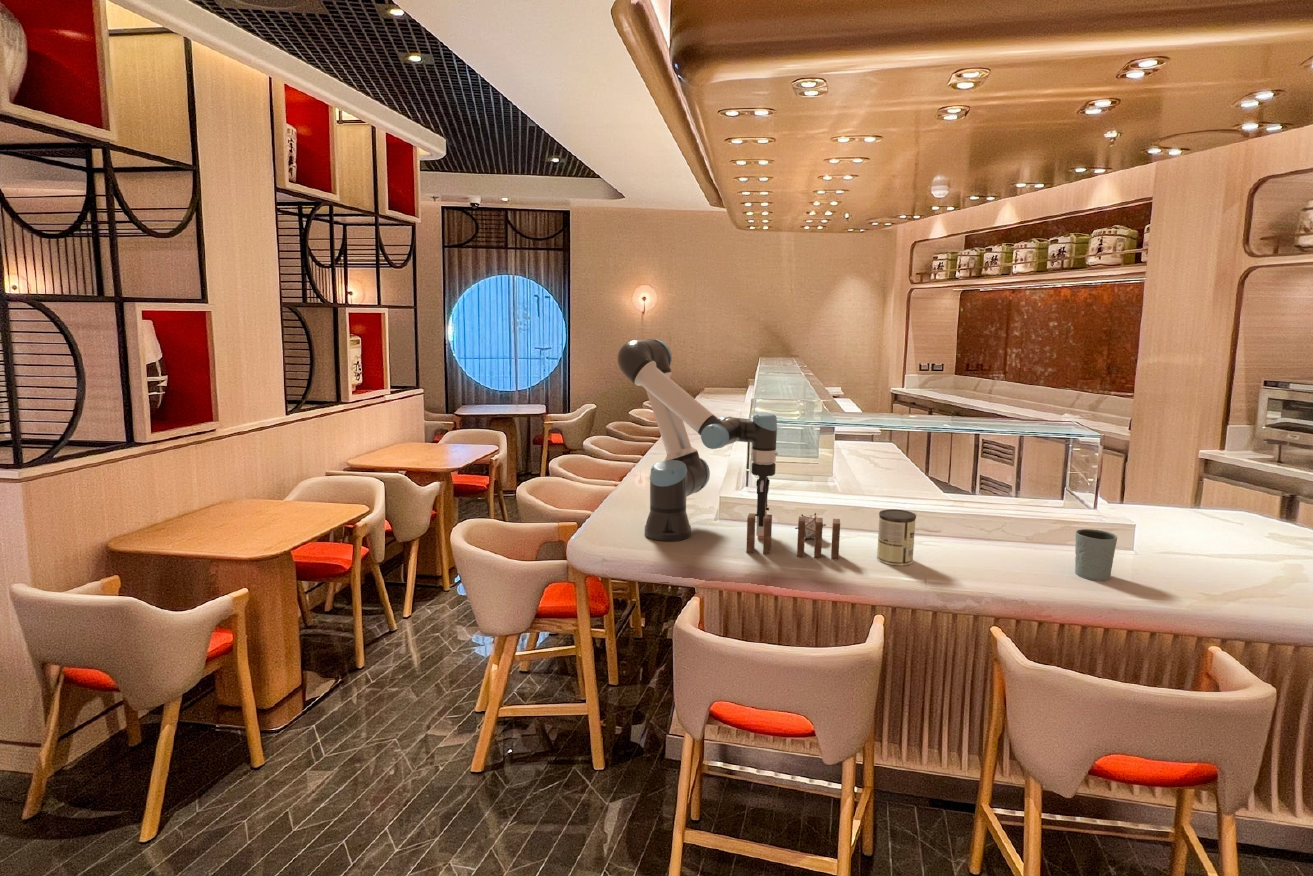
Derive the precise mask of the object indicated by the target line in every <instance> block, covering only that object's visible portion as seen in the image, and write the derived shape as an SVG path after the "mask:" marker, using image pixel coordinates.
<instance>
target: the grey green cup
mask: <svg viewBox="0 0 1313 876" xmlns="http://www.w3.org/2000/svg"><path fill="white" fill-rule="evenodd" d="M1117 542H1118V536H1117V535H1116V534H1115V533H1112V532H1109V531H1106V530H1098V529H1090V528H1089V529H1088V528H1083V529H1082V528H1081V529H1078V530H1075V548H1074V549H1075V558H1074V559H1075V564H1074V565H1075V566H1074V567H1075V569H1074V573H1075V575H1077V576H1078V577H1079V578H1083V579H1086V580H1091V581H1098V582H1099V581H1100V582H1104V581H1105V582H1106V581H1109V580H1110V579H1111V576H1112V569H1113V563H1114V558H1115V551H1116V546H1117Z"/></svg>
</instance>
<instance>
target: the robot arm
mask: <svg viewBox="0 0 1313 876" xmlns="http://www.w3.org/2000/svg"><path fill="white" fill-rule="evenodd" d="M672 355H673V354H672V351H671V348H669V346H668V345H667V344H666V343H665V342H664V341H662V340H660V339H656V338H655V339H654V338H647V339H636V340H629V341H627V342H626V343H624V344H623V345H622V346H621V347H620V349H619V351H618V353H617V358H616V359H617V365H618V368H619V370H620V371H621V372H622V374H623V375H624V376H625V377H626V378H627V379H628V380H629V381H630V382H631V383H633V384H634V385H636V386H637V387H640V386H641V387H642V388H644V389H645V391H646V395H647V397H648V400H649V403H650V406H651V410H652V412H653V415H654V418H655V422H656V424H657V425H656V426H657V427H658V432H659V434H660V437H661V441H662V442H663V447H664V449H665V452H666V455H665V458H664V461H663V460H661V461H657V462H656V463H654V464H653V465H652V466H651V468H650V474H649V486H650V487H649V506H650V507H649V513H648V517H647V519H646V523H645V524H644V525H645V526H644V536H645V537H646V538H648V539H651V540H655V541H661V542H676V541H677V542H678V541H682V540H686V539H689V538H691V535H692V527H691V525H690V522H689V517H688V513H687V498H688V497H689V496H691V495H693V494H695V493H698V492H700V491H702V490H703V489H704V488H705V487H706V486H707V484H708V482H709V480H710V476H711V472H710V466H709V465H708V463H707V461H706V460H704V459H703V458H702V457H700V454H699V452H698V449H696V448H694V447H693V446H692V444H691V442H690V438H689V436H688V432H687V430H686V426H685V424H686V425H688V426H689V427H690V428H691V429H692V430H693V431H695V432H696V433H697V434H699V436H700V439H701V443H702V444H703V445H704V446H705V447H707V448H708V449H709V450H717V449H722V448H724V447H725V446H728V445H730V444H734V443H736V442H740V443H741V442H742V443H743V442H744V443H751V444H752V447H751V461H752V462H751V471H750V473H751V474H752V475H754V476H757V477H758V478H757V479H756V481H755V482H756V483H755V485H756V494H757V495H756V496H757V497H756V498H757V501H756V502H757V503H756V513H754V514H755V517H756V529H755V537H756V536H757V537H758V536H764V518H765V507H766V514H768V511H770V507H769V506H768V495H769V491H770V490H769V486H770V479H769V477H772V476H775V474H776V458H777V457H776V456H778V452H777V437H778V436H777V435H778V433H777V432H778V419H777V415H775V414H774V413H769V412H765V413H764V412H757V413H754V414H753V416H752V418H741V417H732V416H721V417H719V418H718V417H717V416H716V415H714V413H712V412H711V411H710V410H709V409H708V408H706V407H705V406H704V405H702V404H701V402H699V401H698V400H697V399H695V398H694V397H693V396H692V395H691V394H689V393H688V392H687V391H685V389H684V388H682V387H681V386H679V385H678V384H677V383H676V382H675V381H673V379H671V376H672V374H673V373H672V372H673V371H672V369H671V364H672V361H673V356H672ZM684 423H685V424H684Z"/></svg>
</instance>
